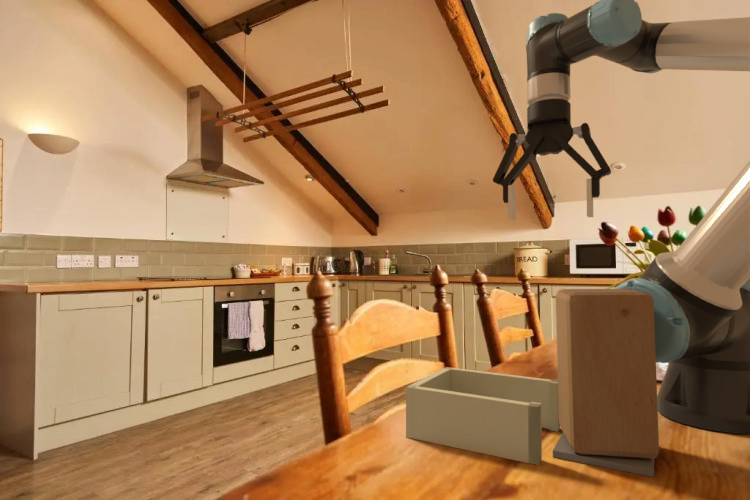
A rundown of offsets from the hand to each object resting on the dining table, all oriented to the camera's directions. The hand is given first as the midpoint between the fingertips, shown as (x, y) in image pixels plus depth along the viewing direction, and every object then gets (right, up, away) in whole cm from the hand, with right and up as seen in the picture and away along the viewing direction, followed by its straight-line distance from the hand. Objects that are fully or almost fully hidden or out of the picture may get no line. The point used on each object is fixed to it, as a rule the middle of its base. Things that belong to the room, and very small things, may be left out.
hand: (549, 218), depth 86 cm
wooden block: (-2, -31, -25) cm, 40 cm away
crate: (-16, -32, -18) cm, 40 cm away
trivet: (-2, -32, -25) cm, 41 cm away
